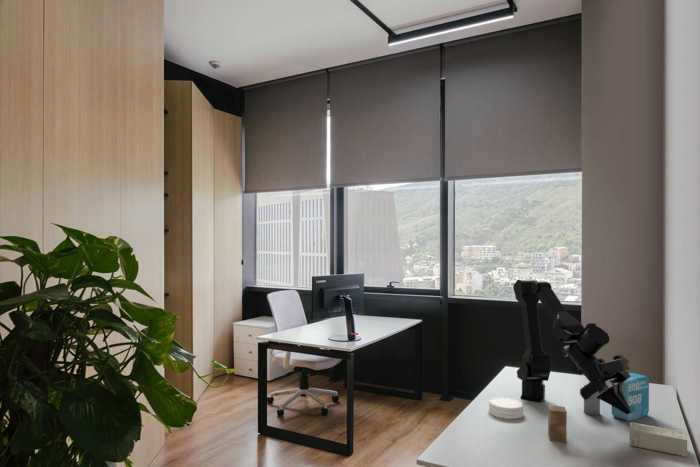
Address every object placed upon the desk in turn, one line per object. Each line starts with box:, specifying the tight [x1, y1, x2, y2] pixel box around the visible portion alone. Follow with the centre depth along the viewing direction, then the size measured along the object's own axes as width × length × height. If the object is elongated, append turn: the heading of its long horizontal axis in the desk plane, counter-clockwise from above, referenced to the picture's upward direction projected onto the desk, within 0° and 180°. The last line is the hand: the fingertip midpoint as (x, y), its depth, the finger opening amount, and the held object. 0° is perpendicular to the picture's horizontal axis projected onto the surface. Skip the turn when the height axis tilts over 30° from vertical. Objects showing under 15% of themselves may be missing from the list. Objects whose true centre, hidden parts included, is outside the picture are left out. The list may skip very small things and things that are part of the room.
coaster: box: [488, 396, 525, 420], centre depth 142 cm, size 10×10×4 cm
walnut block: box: [547, 404, 568, 444], centre depth 124 cm, size 4×4×8 cm
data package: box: [611, 372, 650, 422], centre depth 141 cm, size 12×4×12 cm, turn 120°
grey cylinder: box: [583, 384, 601, 417], centre depth 143 cm, size 4×4×8 cm
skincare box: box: [629, 421, 688, 457], centre depth 119 cm, size 6×4×12 cm
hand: (629, 413), depth 122 cm, fingers closed
